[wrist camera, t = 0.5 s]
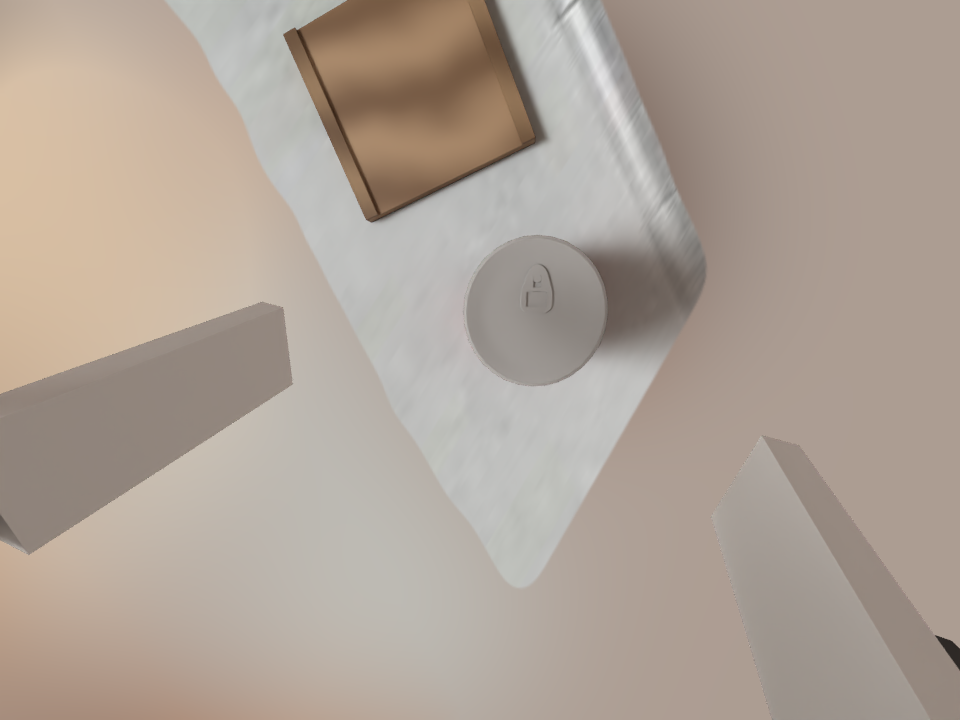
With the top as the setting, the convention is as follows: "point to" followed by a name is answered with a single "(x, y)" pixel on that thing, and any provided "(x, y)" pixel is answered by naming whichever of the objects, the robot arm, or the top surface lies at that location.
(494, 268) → the canned food
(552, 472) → the top surface
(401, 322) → the top surface
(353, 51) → the trivet
